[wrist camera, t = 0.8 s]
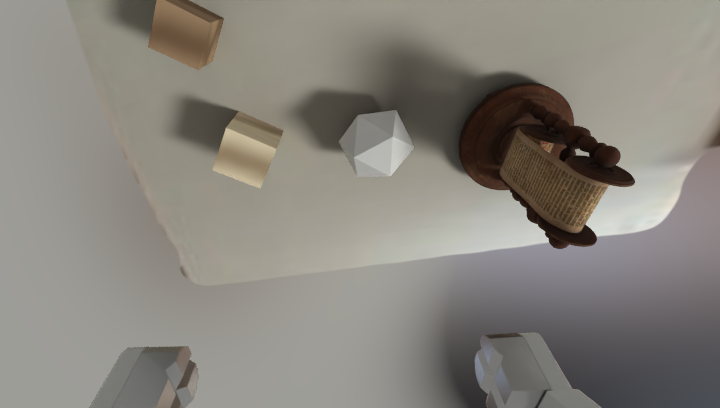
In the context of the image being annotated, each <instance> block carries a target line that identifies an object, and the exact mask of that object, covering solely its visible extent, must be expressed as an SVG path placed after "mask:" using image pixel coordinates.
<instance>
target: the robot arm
mask: <svg viewBox="0 0 720 408" xmlns="http://www.w3.org/2000/svg"><path fill="white" fill-rule="evenodd" d="M480 344H481V347H482V349H481V350H479V351H478V352H477V354H476V358H475V371H476V376H477V379H478V382H479V385H480V387H481V388H482V389H483V390H484V391H485V392H486V393H487V394H488V397H487V401H486V405H487V408H601V407H600V406H599V405H597V404H596V403H595V402H594V401H592V400H591V399H590V398H588V397H587V396H586V395H585V394H583V393H582V392H581V391H579V390H578V389H572V388H571V386H570V384H569V383H568V381H567V379H566V377H565V376H564V374H563V373H562V371H561V369H560V367H559V366H558V364H557V362H556V360H555V359H554V357H553V356H552V354H551V352H550V350H549V349H548V347H547V345H546V343H545V342H544V340H543V338H542V337H541V336H540V335H539V334H538V333H521V334H518V333H510V334H491V335H484V336H483V337H482V338H481V341H480ZM190 357H191V351H190V349H189V347H188V346H178V347H133V348H127V349H126V350H125V351H124V352H122V353H121V355H120V356H119V358H118V360H117V361H116V363H115V365H114V367H113V368H112V370H111V372H110V373H109V375H108V377H107V378H106V380H105V382H104V383H103V385H102V387H101V388H100V390H99V392H98V394H97V395H96V397H95V399H94V400H93V402H92V404H91V405H90V407H89V408H185V407H186V406H187V405H188V404H189V403H190V402H191V401H192V400H193V399H194V396H195V393H196V390H197V384H198V368H197V366H196V364H195V363H194V362H192V361H191V360H189V359H190Z"/></svg>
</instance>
